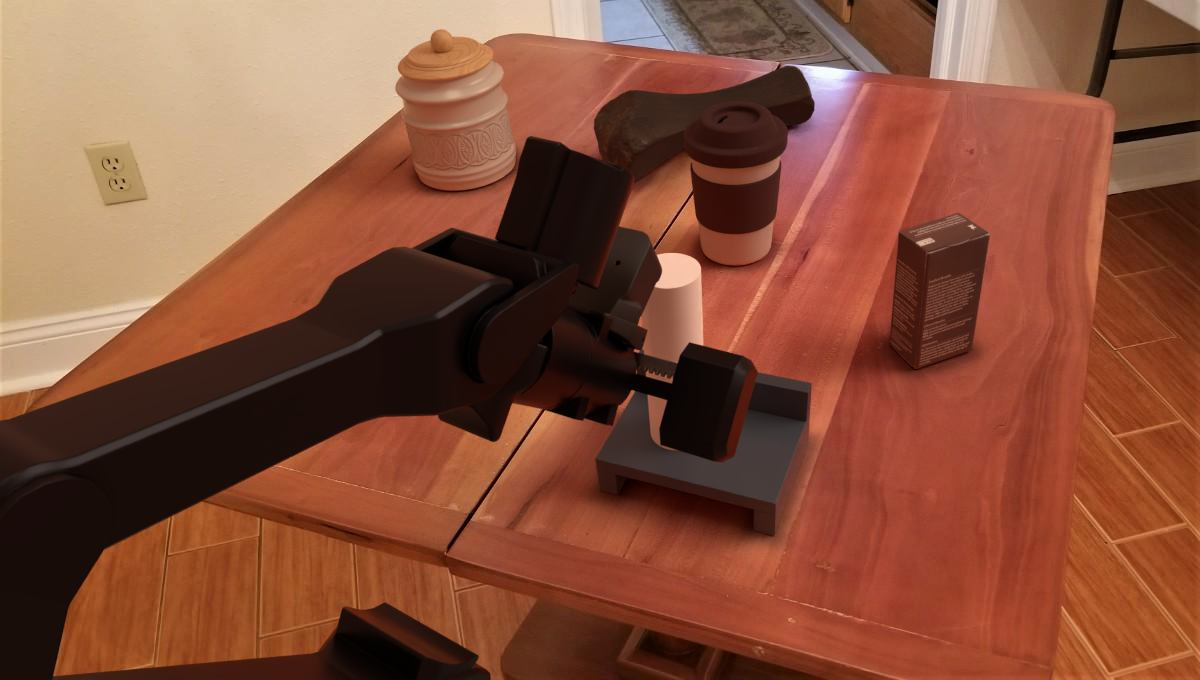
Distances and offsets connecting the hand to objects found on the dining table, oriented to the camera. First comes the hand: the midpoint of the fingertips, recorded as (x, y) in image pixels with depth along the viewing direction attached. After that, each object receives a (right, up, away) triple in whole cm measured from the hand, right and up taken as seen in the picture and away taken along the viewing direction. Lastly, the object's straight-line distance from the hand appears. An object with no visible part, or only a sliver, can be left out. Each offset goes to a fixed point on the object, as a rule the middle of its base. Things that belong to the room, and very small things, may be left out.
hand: (646, 386), depth 65 cm
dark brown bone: (+9, +27, +52) cm, 60 cm away
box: (+26, +2, +18) cm, 32 cm away
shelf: (+5, -7, +9) cm, 13 cm away
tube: (+3, -4, +8) cm, 9 cm away
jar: (-20, +25, +54) cm, 63 cm away
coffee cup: (+11, +13, +34) cm, 38 cm away
